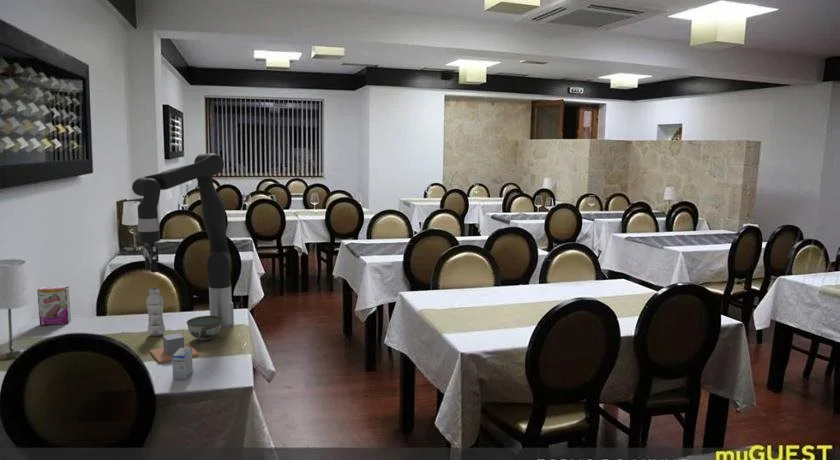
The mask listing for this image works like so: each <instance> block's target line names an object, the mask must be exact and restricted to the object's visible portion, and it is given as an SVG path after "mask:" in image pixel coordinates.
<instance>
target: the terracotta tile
mask: <svg viewBox="0 0 840 460" xmlns="http://www.w3.org/2000/svg"><path fill="white" fill-rule="evenodd" d="M184 348H192V358H196V357H199V352H198V351H197V350H196V349H195V348H194V347H193V346H192V345H191V344H190V343H188V342H187V343H185V342H184ZM149 353H150V354H151V356H152V357H153V358H154V360H156V361H157V363H158V364H165V363H169V362H171V363H172V356H173V355H169V356H168V355H167V354H166V353H165V352H164V347H160V348H159V347H158V348H154V349H150V350H149Z"/></svg>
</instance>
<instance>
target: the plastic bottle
mask: <svg viewBox="0 0 840 460" xmlns="http://www.w3.org/2000/svg"><path fill="white" fill-rule="evenodd" d="M148 291H149V292H148V293H149V295H148V297H147V298H146V301H145V303H146V307H147V314H148V324H147V325H148V326H147V332H148V335H149V336H152V337H159V336H164V333H165V332H166V326H165V323H164V316H163V315H164V314H163V311H164V310H163V308H164V299H163V297H162V295H160V288H159V287H151V288H149V289H148Z"/></svg>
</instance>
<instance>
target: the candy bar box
mask: <svg viewBox="0 0 840 460" xmlns="http://www.w3.org/2000/svg"><path fill="white" fill-rule="evenodd" d="M69 287H70V286H69V285H59V286H55V285H54V286H41V287H39V288H38V289H37V290H36V291H37V304H38V317H39V327H40V326H53V325H54V326H55V325H56V326H57V325H69V324H70V322H71V321H72V317H71V316H72V315H71V302H70V288H69Z"/></svg>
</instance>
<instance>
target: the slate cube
mask: <svg viewBox="0 0 840 460" xmlns="http://www.w3.org/2000/svg"><path fill="white" fill-rule="evenodd" d="M162 341H163V342H162V343H163V345H162V346H163V348H164V352H165V353H166V354H167V355H168V356H169V355H174V354H175V353H176V352H177V350H178V349H179V348H184V344H185V337H184V335H182V334H181V333H180V332H178V333H172V334H167V335H166V334H165V335H162Z"/></svg>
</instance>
